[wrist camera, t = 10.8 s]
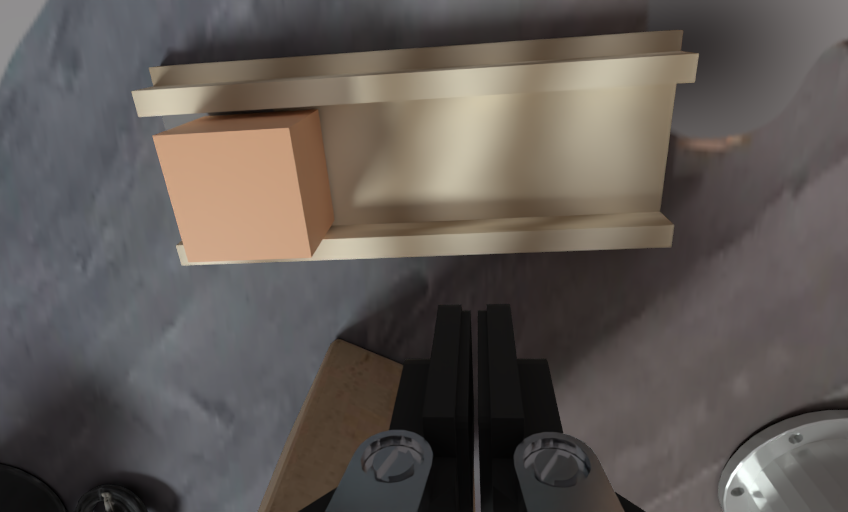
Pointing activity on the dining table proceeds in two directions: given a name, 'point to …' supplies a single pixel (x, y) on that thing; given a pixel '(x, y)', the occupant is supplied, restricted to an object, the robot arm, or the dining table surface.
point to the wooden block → (333, 425)
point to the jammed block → (248, 185)
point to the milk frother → (41, 508)
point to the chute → (467, 140)
